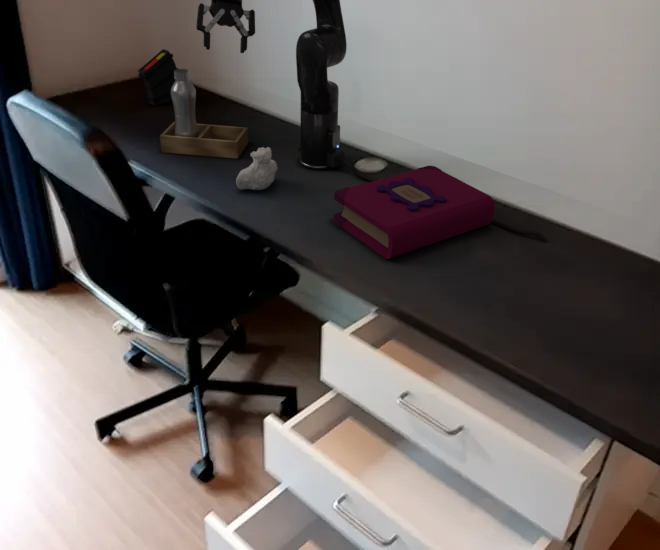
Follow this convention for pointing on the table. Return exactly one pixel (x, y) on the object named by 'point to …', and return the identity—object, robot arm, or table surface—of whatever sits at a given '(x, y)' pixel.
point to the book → (411, 210)
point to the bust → (258, 171)
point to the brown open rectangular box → (207, 141)
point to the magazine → (159, 77)
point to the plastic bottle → (184, 105)
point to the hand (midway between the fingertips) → (225, 50)
